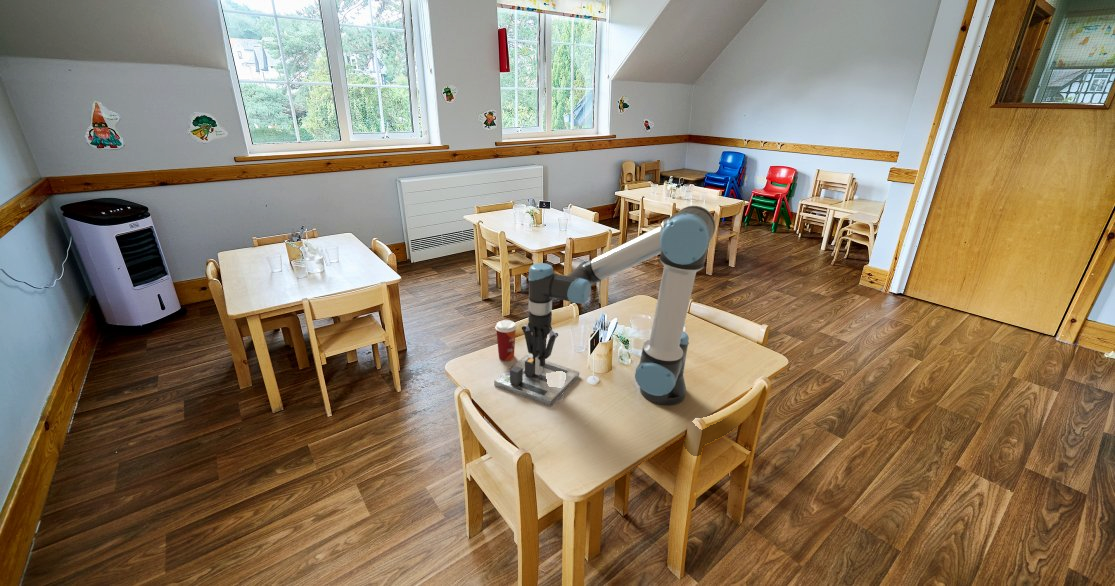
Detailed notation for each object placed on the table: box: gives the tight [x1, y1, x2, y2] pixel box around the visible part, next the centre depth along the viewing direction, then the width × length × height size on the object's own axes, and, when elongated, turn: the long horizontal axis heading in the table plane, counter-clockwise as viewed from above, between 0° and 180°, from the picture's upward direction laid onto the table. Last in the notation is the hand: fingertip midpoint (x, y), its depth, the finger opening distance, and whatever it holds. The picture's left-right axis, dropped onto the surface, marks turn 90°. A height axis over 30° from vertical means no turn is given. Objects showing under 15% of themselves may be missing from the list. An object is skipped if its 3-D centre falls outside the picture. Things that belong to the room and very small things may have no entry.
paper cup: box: [494, 319, 517, 362], centre depth 173 cm, size 8×8×14 cm
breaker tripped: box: [525, 358, 535, 376], centre depth 162 cm, size 3×3×5 cm
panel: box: [493, 353, 580, 408], centre depth 162 cm, size 22×20×2 cm
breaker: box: [510, 366, 523, 385], centre depth 157 cm, size 3×3×5 cm
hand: (539, 372), depth 161 cm, fingers closed
